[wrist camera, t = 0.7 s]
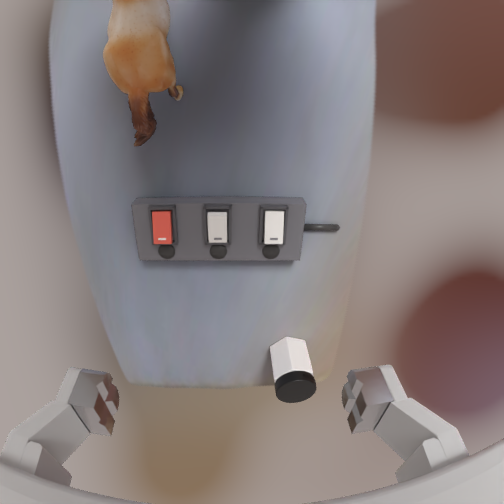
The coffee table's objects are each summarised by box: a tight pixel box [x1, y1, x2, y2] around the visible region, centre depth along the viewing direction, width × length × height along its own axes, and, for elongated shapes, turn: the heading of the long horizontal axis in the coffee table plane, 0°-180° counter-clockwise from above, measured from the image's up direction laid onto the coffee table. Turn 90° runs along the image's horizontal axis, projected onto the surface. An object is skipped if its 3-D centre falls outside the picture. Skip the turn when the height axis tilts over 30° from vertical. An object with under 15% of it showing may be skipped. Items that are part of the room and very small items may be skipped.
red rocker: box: [152, 210, 173, 244], centre depth 47 cm, size 5×3×2 cm, turn 178°
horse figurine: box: [103, 0, 183, 146], centre depth 28 cm, size 31×8×21 cm, turn 3°
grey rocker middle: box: [207, 212, 227, 243], centre depth 48 cm, size 5×3×2 cm, turn 178°
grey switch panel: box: [132, 196, 340, 261], centre depth 50 cm, size 10×34×4 cm, turn 88°
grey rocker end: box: [264, 210, 284, 244], centre depth 48 cm, size 5×3×2 cm, turn 178°
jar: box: [270, 337, 316, 403], centre depth 62 cm, size 9×8×12 cm
